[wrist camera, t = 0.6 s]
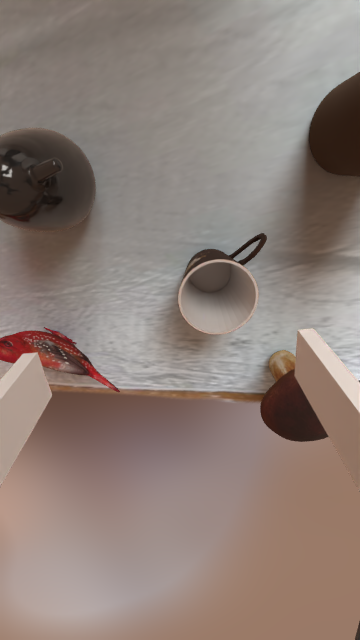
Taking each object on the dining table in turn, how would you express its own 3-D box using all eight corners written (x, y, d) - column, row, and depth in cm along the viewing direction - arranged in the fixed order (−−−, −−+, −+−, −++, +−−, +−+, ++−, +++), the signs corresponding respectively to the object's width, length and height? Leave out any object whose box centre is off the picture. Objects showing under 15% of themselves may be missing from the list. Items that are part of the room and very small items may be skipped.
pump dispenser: (117, 210, 39) (84, 230, 25) (43, 235, 41) (-27, 268, 27) (82, 118, 35) (20, 83, 21) (1, 150, 36) (-108, 137, 23)
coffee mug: (194, 311, 45) (197, 345, 36) (167, 257, 42) (164, 280, 33) (271, 277, 43) (295, 305, 34) (249, 218, 40) (270, 231, 31)
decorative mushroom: (290, 312, 45) (337, 372, 32) (329, 360, 49) (387, 433, 35) (230, 355, 48) (249, 427, 35) (270, 398, 52) (303, 478, 38)
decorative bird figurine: (21, 304, 45) (-19, 337, 36) (131, 360, 49) (119, 403, 40) (14, 320, 46) (-27, 356, 37) (122, 373, 50) (109, 418, 41)
